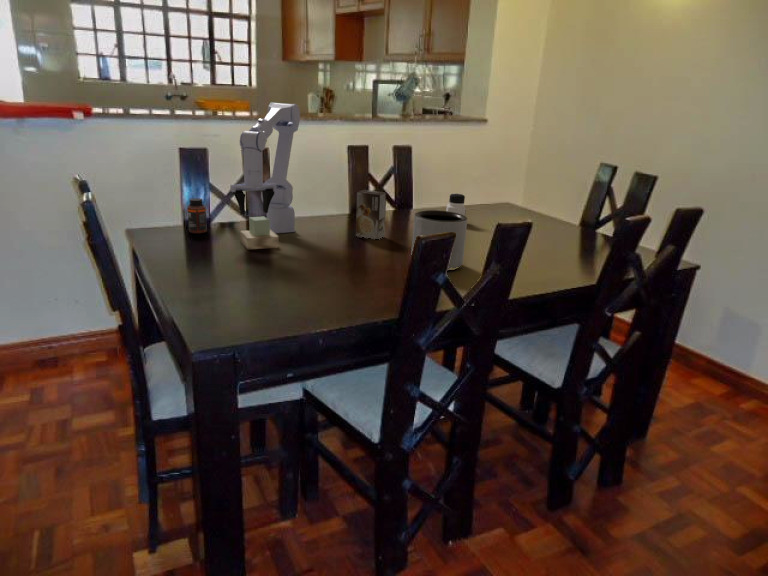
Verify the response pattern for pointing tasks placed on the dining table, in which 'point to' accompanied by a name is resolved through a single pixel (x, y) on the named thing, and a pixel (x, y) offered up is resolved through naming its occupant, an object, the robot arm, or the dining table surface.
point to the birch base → (259, 240)
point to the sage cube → (259, 226)
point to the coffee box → (370, 214)
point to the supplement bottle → (197, 216)
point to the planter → (442, 230)
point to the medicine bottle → (456, 204)
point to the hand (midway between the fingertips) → (254, 213)
